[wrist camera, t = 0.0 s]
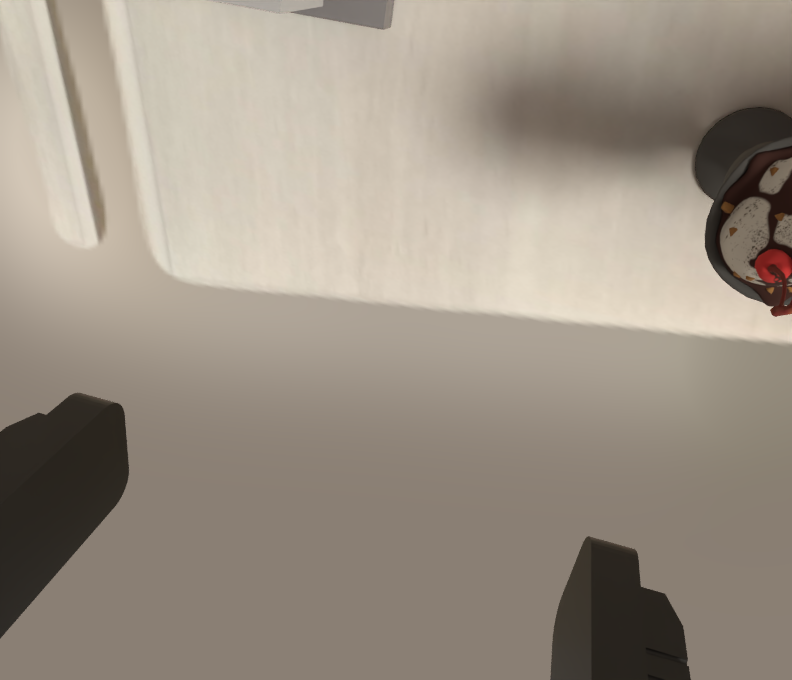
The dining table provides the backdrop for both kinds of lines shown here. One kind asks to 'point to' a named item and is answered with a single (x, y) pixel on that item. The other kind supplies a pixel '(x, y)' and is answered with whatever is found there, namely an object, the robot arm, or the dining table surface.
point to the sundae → (750, 204)
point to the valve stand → (329, 9)
